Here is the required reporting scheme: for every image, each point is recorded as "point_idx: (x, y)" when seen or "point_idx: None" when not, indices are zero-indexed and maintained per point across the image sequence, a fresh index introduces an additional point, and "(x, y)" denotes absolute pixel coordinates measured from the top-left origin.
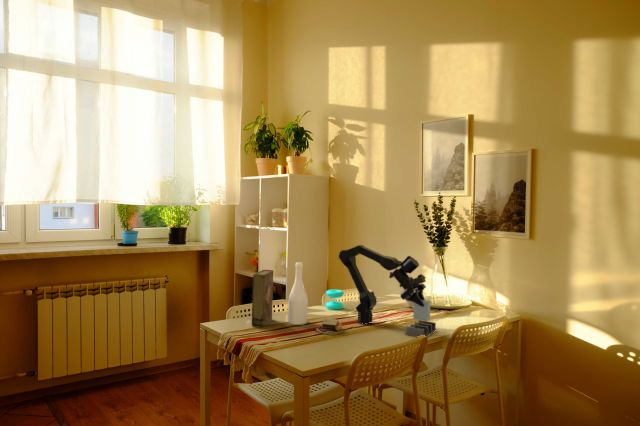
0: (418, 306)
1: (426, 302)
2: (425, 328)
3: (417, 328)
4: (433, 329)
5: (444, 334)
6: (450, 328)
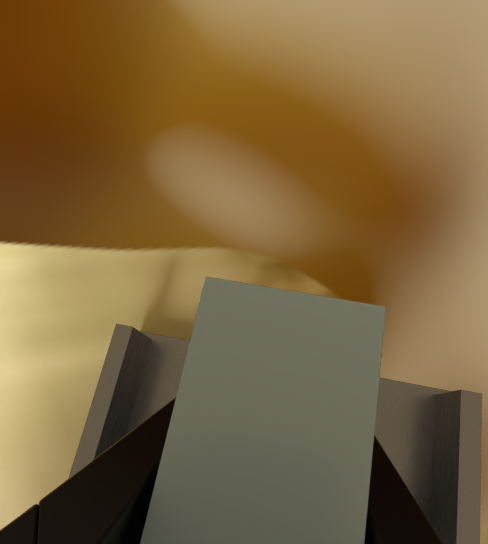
0: None
1: (375, 362)
2: None
3: (480, 473)
4: (164, 350)
5: (220, 257)
6: (12, 244)
